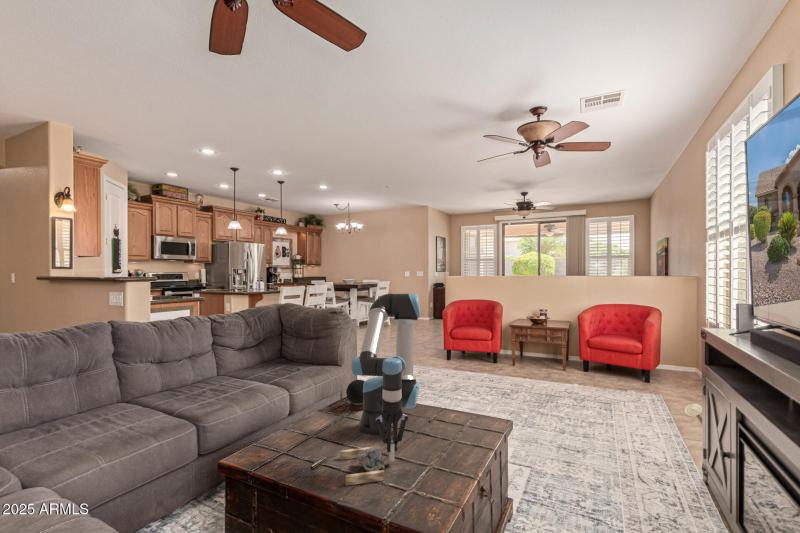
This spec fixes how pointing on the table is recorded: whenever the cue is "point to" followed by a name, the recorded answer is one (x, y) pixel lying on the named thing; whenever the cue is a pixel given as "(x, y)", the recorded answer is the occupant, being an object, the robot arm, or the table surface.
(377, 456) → the mineral specimen
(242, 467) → the table surface
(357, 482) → the wooden slats
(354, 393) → the black round piece
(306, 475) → the dark gray rectangular slab
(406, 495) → the table surface
